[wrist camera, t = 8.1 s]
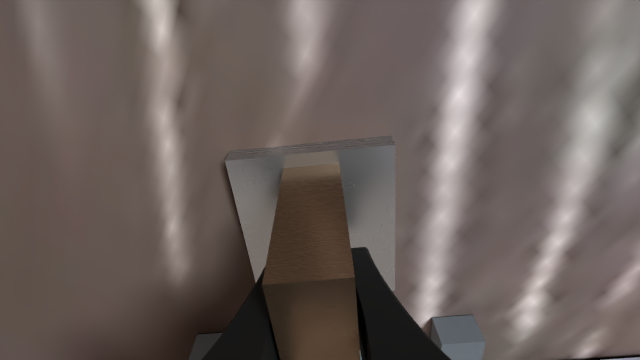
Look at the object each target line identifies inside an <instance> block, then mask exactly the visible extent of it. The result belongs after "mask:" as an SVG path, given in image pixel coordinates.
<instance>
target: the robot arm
mask: <svg viewBox="0 0 640 360" xmlns="http://www.w3.org/2000/svg"><path fill="white" fill-rule="evenodd" d="M351 252H352V260H353V267H354V274H355V285H356V300H357V315H358V330H359V344H360V353H361V357H362V360H451V359H450V358H449V357H448V356H447V355H446V354H445V353H444V352H443V351H442V350H441V349H440V348H439V347H438V346H437V345H436V344H435V343H434V342H433V341H432V340H431V339H430V338H429V337H428V336H427V335H426V333H425V332H424V331H423V330H422V329H421V328H420V327H419V326H418V324H417V323H416V322H415V321H414V320H413V318H412V317H411V316H410V315H409V314H408V312H407V311H406V310H405V308H404V307H403V306H402V304H401V303H400V302H399V300H398V299H397V298H396V296H395V295H394V294H393V292H392V291H391V289H390V288H389V286H388V285H387V283H386V282H385V280H384V279H383V277H382V275H381V274H380V272H379V270H378V269H377V267H376V265H375V263H374V261H373V259H372V257H371V255H370V253H369V250H368V249H367V248H366V247H357V248H351ZM265 266H266V265H265ZM264 272H265V267H264V269H263V271H262V273H261V275H260V277H259V278H258V280H257V282H256V284H255V285H254V287H253V289H252V290H251V292H250V294H249V295H248V297H247V299H246V300H245V302H244V303H243V305H242V307H241V308H240V309H239V311H238V312H237V314H236V315H235V317H234V318H233V320H232V321H231V323H230V324H229V325H228V327H227V328H226V330H225V331H224V332H223V334H222V335H221V336H220V337H219V339H218V340H217V341H216V343H215V344H214V345H213V346H212V347H211V349H210V350H209V351H208V352H207V353H206V355H205V356H204V357H203V358H202V359H201V360H280V357H279V352H278V348H277V344H276V340H275V336H274V332H273V328H272V324H271V320H270V315H269V311H268V307H267V303H266V299H265V295H264V291H263V287H262V283H263V277H264ZM602 360H640V357H632V358H617V359H602Z"/></svg>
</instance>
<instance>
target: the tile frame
mask: <svg viewBox="0 0 640 360" xmlns="http://www.w3.org/2000/svg"><path fill="white" fill-rule="evenodd" d="M222 334H223V333H212V334H198V335H197V336H196V339H195V342H194V345H193V348H192V350H191V353H190V356H189V359H188V360H201V359H202V358H203V357H204V356H205V355H206V353H207V352H208V351H209V350H210V349H211V347H212V346H213V345H214V344H215V343H216V341H217V340H218V339H219V337H220V336H221V335H222ZM430 339H431V340H432V341H433V342H434V343H435V344H436V345H437V346H438V347H439V348H440V349H441V350H442V351H443V352H444V353H445V354H446V355H447V356H448V357H449V358H450V359H451V360H482V356H483V351H484V347H485V339H484V337H483V335H482V333H481V331H480V329H479V327H478V325H477V323H476V321H475V319H474V317H473V315H465V316H451V317H437V318H432V327H431V338H430Z"/></svg>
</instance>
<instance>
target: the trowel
mask: <svg viewBox="0 0 640 360" xmlns="http://www.w3.org/2000/svg"><path fill="white" fill-rule="evenodd" d="M225 164H226V168H227V171H228V175H229V179H230V183H231V187H232V191H233V195H234V199H235V203H236V207H237V211H238V215H239V219H240V223H241V227H242V231H243V234H244V238H245V242H246V246H247V250H248V254H249V258H250V262H251V266H252V270H253V274H254V278H255V282H257V280H258V278H259V277H260V275H261V273H262V271H263V269H264V267H265V272H264V277H263V283H262V287H263V291H264V295H265V299H266V303H267V307H268V311H269V315H270V320H271V324H272V328H273V332H274V336H275V340H276V344H277V348H278V352H279V357H280V360H361V359H360V344H359V330H358V315H357V300H356V285H355V274H354V267H353V260H352V252H351V248H357V247H366V248H367V249H368V250H369V253H370V255H371V257H372V259H373V261H374V263H375V265H376V267H377V269H378V270H379V272H380V274H381V275H382V277H383V279H384V280H385V282H386V283H387V285H388V286H389V288H390V289H391V291H395V181H396V144H395V142H394V140H393V139H392V137H391V136H388V137H378V138H368V139H357V140H347V141H336V142H326V143H316V144H305V145H295V146H284V147H274V148H264V149H253V150H243V151H232V152H229V154H228V156H227V158H226V160H225ZM265 265H266V266H265Z"/></svg>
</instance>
